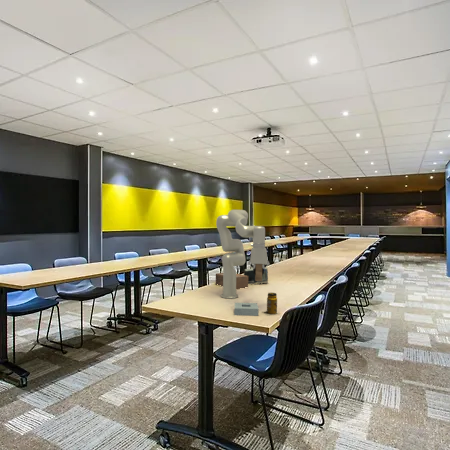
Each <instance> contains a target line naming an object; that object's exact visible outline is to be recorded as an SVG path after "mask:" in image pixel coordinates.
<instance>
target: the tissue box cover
mask: <svg viewBox="0 0 450 450" xmlns="http://www.w3.org/2000/svg"><path fill="white" fill-rule="evenodd" d="M216 284H218V285H221V286H220V287H222V286H223V272H218V273H217V272H216V273H215V285H216ZM218 285H217V286H218ZM245 287H248V288H249V285H248V276H245V275H244V274H240V273H236V289H237V290H241V289H240V288H244V289H246V288H245Z"/></svg>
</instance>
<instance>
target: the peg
mask: <svg viewBox="0 0 450 450" xmlns="http://www.w3.org/2000/svg"><path fill="white" fill-rule="evenodd" d="M255 269H256V275H255V281H262V264H256V265H255Z"/></svg>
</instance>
